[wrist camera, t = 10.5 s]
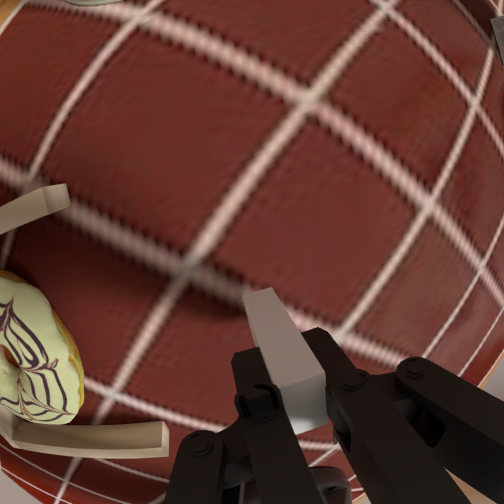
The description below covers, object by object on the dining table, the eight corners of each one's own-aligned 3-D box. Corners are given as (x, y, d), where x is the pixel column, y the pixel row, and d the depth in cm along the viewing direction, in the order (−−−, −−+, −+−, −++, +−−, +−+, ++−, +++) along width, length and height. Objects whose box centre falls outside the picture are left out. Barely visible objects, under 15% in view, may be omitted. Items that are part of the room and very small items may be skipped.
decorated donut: (57, 247, 12) (21, 269, 9) (116, 398, 16) (106, 439, 12) (-42, 272, 11) (-73, 292, 7) (14, 394, 14) (-2, 424, 11)
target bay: (169, 430, 17) (168, 456, 14) (20, 429, 15) (12, 447, 13) (66, 183, 11) (41, 187, 9) (-72, 256, 10) (-90, 266, 7)
